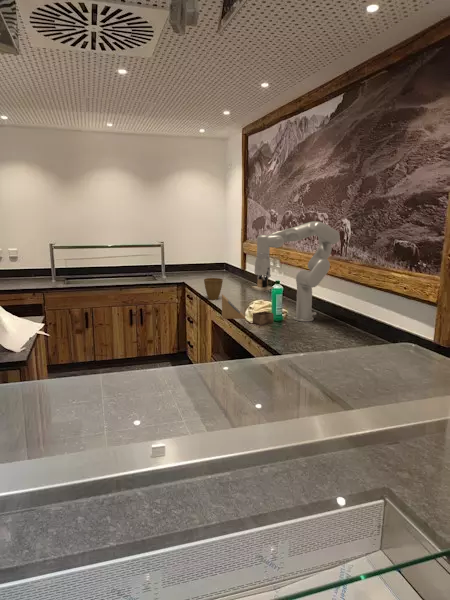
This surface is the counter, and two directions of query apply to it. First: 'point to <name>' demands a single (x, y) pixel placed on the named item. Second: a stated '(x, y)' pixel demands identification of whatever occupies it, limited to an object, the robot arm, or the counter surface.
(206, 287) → the plant pot
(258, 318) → the box
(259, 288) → the lid
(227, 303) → the sandwich container
